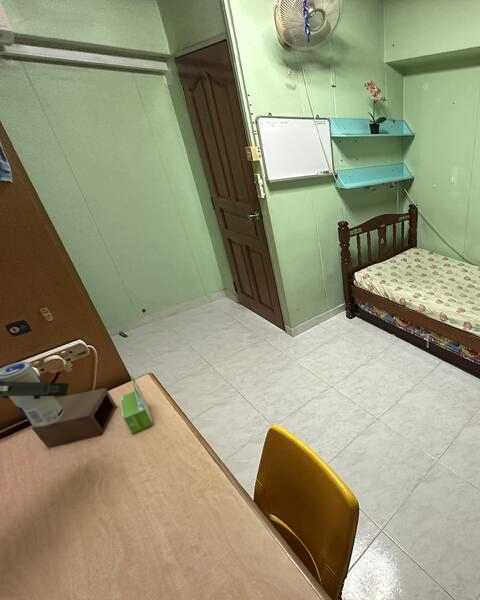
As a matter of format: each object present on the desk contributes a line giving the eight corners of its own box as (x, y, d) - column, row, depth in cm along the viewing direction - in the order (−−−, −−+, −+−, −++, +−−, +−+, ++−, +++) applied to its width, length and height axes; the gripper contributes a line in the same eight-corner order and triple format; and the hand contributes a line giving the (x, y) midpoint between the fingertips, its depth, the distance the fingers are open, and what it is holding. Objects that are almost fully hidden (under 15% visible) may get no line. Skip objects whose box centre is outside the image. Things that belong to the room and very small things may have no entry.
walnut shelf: (47, 448, 85) (31, 428, 81) (68, 417, 94) (54, 398, 90) (102, 434, 88) (89, 415, 85) (117, 406, 97) (105, 387, 93)
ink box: (127, 413, 95) (107, 379, 88) (149, 404, 98) (131, 370, 92) (132, 435, 89) (110, 399, 82) (154, 424, 92) (135, 390, 85)
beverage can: (64, 406, 74) (29, 357, 66) (65, 419, 71) (28, 369, 63) (33, 418, 71) (-7, 368, 63) (33, 432, 67) (-10, 381, 60)
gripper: (-172, 420, 47) (2, 410, 69) (-36, 412, 49) (91, 404, 71) (-151, 369, 49) (12, 375, 71) (-22, 363, 51) (98, 371, 73)
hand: (51, 390), depth 71 cm, fingers closed on beverage can, 5 cm apart
